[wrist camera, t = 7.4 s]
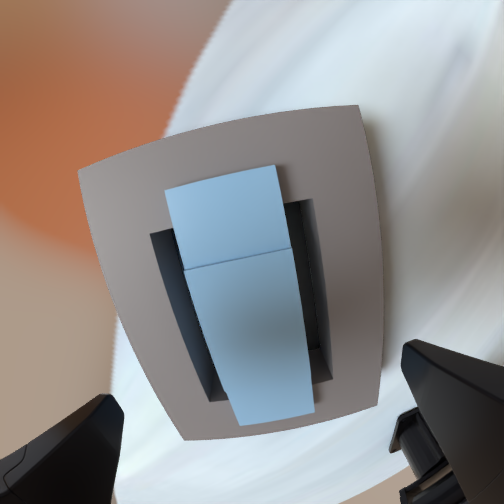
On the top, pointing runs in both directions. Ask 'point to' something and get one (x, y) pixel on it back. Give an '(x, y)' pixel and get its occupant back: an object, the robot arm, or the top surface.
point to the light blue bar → (245, 291)
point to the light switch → (318, 247)
